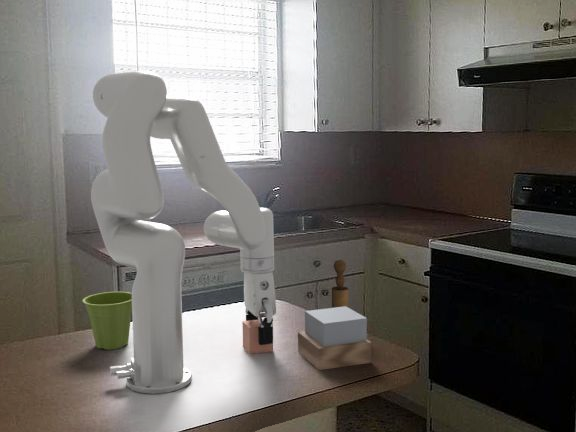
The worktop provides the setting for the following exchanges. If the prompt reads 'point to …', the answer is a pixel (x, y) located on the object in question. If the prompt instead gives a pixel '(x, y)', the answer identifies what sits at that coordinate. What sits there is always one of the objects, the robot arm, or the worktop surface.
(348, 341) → the upper block
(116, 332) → the plant pot
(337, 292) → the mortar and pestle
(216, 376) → the worktop surface
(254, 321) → the pink cube
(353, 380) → the worktop surface
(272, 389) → the worktop surface
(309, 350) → the lower block
